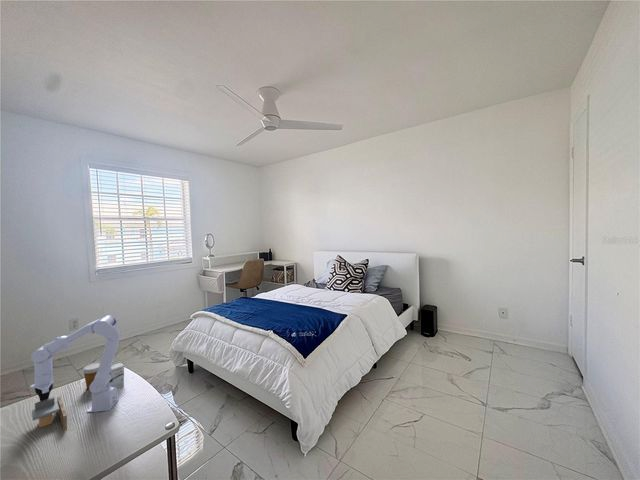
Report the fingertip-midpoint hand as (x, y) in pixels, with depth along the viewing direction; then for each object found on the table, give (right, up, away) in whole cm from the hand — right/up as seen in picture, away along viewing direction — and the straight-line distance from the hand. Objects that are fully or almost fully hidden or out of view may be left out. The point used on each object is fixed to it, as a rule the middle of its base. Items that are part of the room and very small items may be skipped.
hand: (44, 401), depth 119 cm
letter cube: (+4, -8, -3) cm, 9 cm away
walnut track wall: (+9, -8, 0) cm, 11 cm away
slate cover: (+4, -3, -3) cm, 6 cm away
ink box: (+13, -7, +24) cm, 28 cm away
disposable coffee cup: (+2, -7, +24) cm, 25 cm away
